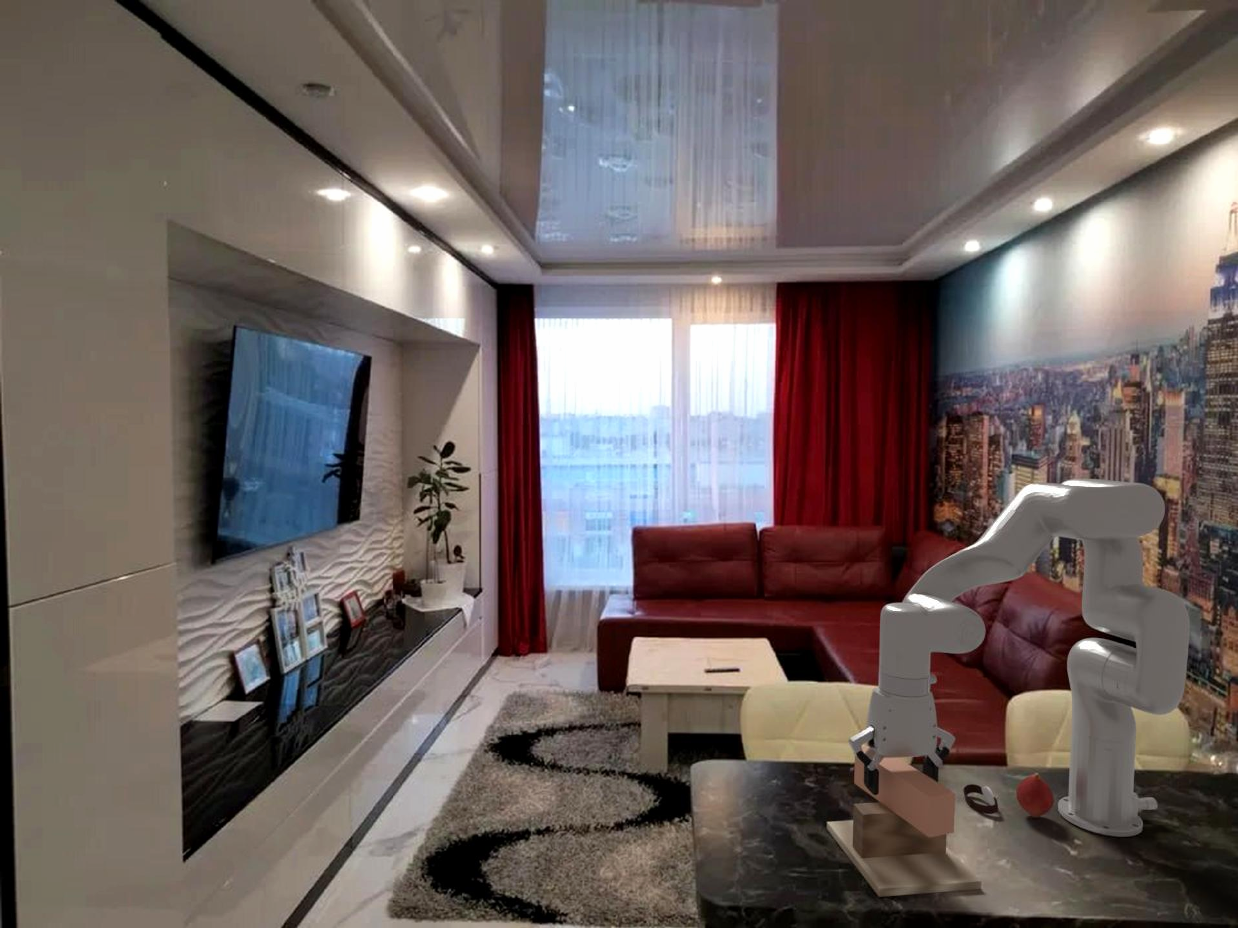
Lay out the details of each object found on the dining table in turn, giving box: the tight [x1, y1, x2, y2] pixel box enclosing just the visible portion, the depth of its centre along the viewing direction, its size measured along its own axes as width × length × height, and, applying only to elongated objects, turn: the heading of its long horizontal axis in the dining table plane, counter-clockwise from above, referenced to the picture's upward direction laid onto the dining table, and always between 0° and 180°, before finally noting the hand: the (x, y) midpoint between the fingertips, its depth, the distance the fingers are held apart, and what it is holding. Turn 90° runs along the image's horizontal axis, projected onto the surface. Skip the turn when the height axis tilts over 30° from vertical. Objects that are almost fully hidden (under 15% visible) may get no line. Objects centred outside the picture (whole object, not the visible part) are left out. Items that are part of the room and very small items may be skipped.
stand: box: [826, 801, 982, 898], centre depth 123 cm, size 16×19×8 cm
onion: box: [1015, 772, 1055, 819], centre depth 136 cm, size 6×6×8 cm
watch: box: [962, 783, 999, 815], centre depth 140 cm, size 8×5×4 cm, turn 9°
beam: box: [853, 745, 956, 837], centre depth 122 cm, size 4×18×6 cm, turn 19°
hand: (900, 789), depth 122 cm, fingers open, 9 cm apart
